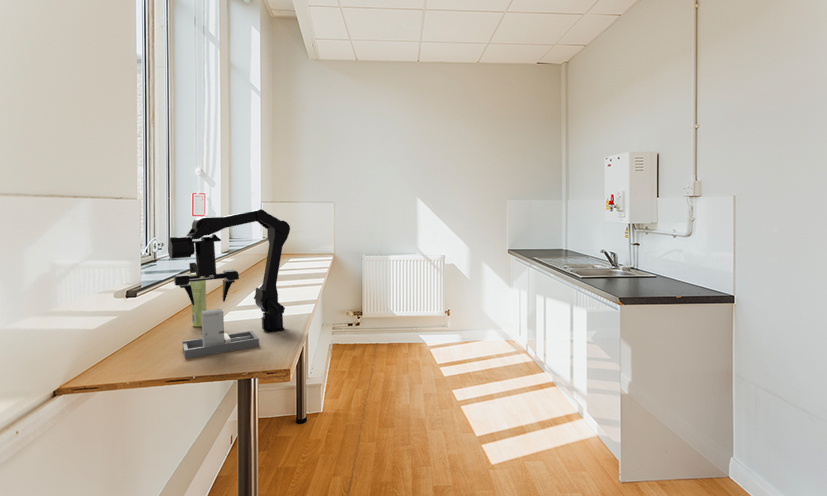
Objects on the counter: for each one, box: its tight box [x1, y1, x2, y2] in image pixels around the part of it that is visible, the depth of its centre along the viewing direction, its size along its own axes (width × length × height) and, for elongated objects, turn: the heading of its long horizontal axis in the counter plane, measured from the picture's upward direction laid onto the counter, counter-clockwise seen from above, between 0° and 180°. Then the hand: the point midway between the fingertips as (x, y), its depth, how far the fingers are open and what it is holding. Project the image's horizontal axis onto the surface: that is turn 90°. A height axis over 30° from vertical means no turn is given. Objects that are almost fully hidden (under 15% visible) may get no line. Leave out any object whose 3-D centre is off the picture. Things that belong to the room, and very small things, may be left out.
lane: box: [182, 330, 260, 359], centre depth 142 cm, size 21×11×2 cm, turn 120°
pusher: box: [224, 332, 251, 343], centre depth 144 cm, size 8×8×3 cm
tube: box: [188, 273, 207, 328], centre depth 169 cm, size 6×5×20 cm
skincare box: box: [201, 308, 225, 347], centre depth 140 cm, size 6×4×12 cm
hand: (208, 303), depth 147 cm, fingers open, 9 cm apart
